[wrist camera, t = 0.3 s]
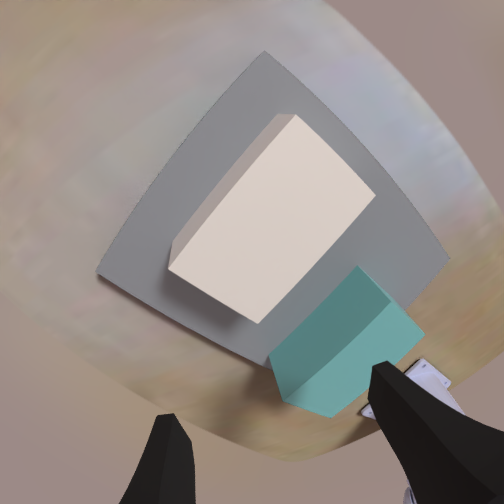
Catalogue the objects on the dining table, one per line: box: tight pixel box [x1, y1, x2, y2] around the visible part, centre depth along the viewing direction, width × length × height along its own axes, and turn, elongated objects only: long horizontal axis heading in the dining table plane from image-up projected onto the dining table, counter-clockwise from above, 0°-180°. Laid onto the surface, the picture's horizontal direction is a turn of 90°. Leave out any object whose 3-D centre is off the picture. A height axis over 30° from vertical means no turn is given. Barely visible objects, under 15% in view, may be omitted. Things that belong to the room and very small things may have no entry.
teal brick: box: [269, 265, 425, 418], centre depth 18 cm, size 4×8×4 cm, turn 140°
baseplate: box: [95, 51, 450, 371], centre depth 16 cm, size 18×14×4 cm
